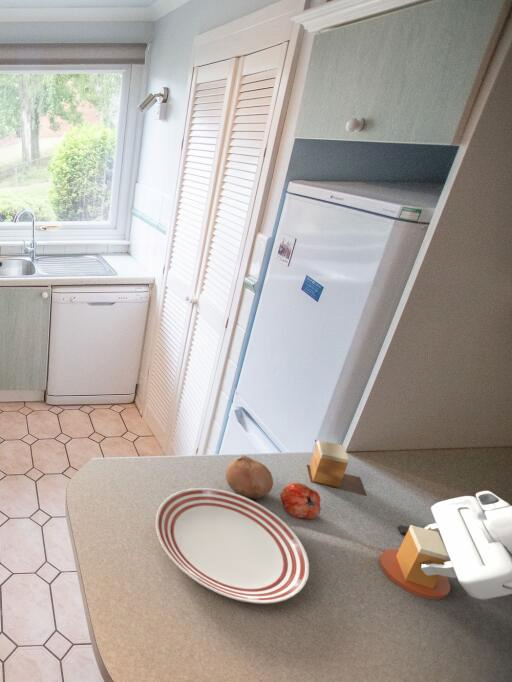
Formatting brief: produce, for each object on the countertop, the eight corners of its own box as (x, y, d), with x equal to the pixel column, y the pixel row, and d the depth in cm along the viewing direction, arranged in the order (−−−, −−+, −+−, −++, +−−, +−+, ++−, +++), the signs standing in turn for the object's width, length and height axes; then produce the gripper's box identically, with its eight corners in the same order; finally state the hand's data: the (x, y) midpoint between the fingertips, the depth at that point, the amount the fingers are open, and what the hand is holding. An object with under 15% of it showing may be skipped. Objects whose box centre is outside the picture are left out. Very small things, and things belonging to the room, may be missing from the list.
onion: (227, 493, 109) (220, 452, 110) (271, 491, 106) (264, 449, 106) (232, 507, 100) (225, 462, 101) (280, 506, 97) (272, 460, 97)
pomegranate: (269, 510, 103) (288, 515, 94) (274, 477, 105) (293, 480, 95) (305, 520, 101) (328, 526, 92) (310, 487, 103) (332, 490, 93)
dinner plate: (316, 638, 74) (321, 625, 73) (144, 577, 85) (146, 565, 83) (295, 522, 97) (299, 510, 96) (162, 485, 108) (164, 474, 106)
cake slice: (422, 563, 86) (438, 532, 83) (433, 588, 81) (450, 556, 78) (395, 555, 88) (410, 524, 85) (405, 580, 83) (421, 548, 80)
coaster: (436, 563, 87) (438, 560, 87) (457, 608, 79) (460, 604, 78) (372, 546, 91) (374, 542, 91) (387, 586, 83) (388, 582, 82)
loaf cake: (358, 479, 109) (370, 449, 105) (366, 498, 103) (378, 467, 100) (305, 467, 113) (315, 438, 110) (309, 484, 107) (319, 454, 104)
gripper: (558, 602, 66) (444, 614, 75) (505, 512, 82) (416, 530, 91) (530, 567, 67) (419, 583, 75) (483, 484, 83) (396, 505, 91)
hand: (417, 553), depth 83 cm, fingers closed on cake slice, 6 cm apart
